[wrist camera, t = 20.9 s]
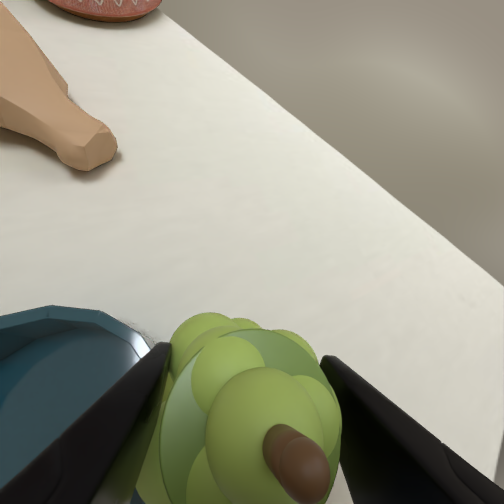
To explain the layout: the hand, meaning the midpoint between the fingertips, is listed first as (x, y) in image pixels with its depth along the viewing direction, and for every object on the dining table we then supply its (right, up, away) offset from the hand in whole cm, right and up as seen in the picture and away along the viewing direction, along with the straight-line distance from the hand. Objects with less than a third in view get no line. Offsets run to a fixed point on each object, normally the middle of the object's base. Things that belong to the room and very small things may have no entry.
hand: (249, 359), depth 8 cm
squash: (-23, +18, +18) cm, 34 cm away
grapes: (-2, -4, +5) cm, 7 cm away
